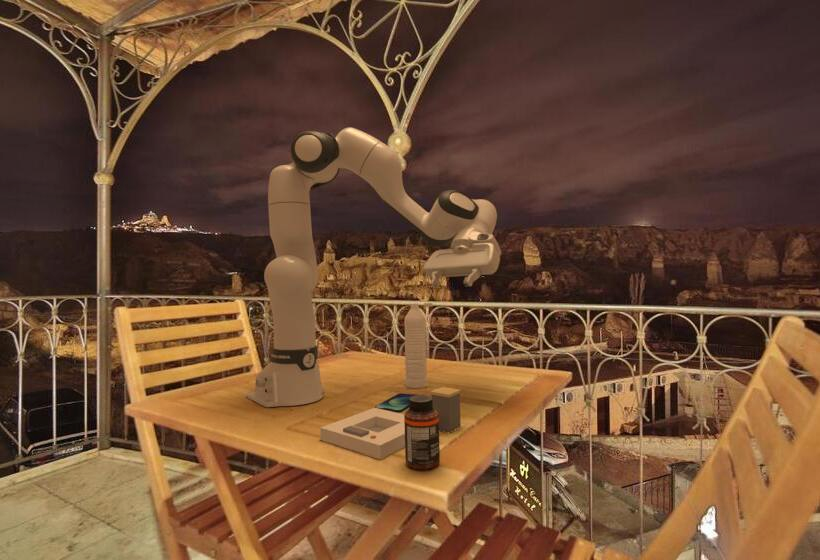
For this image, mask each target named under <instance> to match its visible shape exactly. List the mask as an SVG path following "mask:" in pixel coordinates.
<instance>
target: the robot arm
mask: <svg viewBox="0 0 820 560" xmlns="http://www.w3.org/2000/svg"><path fill="white" fill-rule="evenodd" d="M289 150H290V152H289V153H290V157H291V160H292V162H291V163H289V164H283V165H279V166H276V167H275V168H273V169H272V171H271V172H270V175H269V180H268V190H267V191H268V193H267V200H268V201H267V204H268V221H269V223H268V224H269V235H270V239H271V240H272V243H273V248H274V251H275V252H274V253H275V256H276V258H274V259H272V260H271V261H270V262H269V263H268V264H267V265H266V266H265V267H266V268H265V269H264V274H263V278H264V279H263V280H264V283H265V285H266V286H267V290H268V296H269V297H268V298H269V303H270V308H271V312H272V320H273V322H272V323H273V348H272V349H269V350H268V355H270V358H269V363H268V364H267V365H266V366H264V367H263V369H261V371H259V372H258V373H257V374H256V376H255V384H254V386H255V387H254V388H255V389H253V390H251V391H249V392H247V393H246V395H245V396H246V397H245V398H248V399H249V400H251V401H253V402H255V403H257V404H258V405H261V406H262V407H265V408H273V407H274V408H275V407H291V406H292V407H293V406H302V405H306V404H312V403H315V402H318V401H320V400H321V399H322V398H323V397H324V395H323V394H324V393H325V388H324V387H322V379H321V372H320V371H321V370H320V365H319V363H318V362H317V359H319V355H318V354H319V350H318V346H317V345H316V344H317V341H316V330H317V329H316V316H315V312H314V308H313V307H314V305H313V299H312V292H313V291H314V290H315V288H316V287H317V285H318V283H319V278H320V277H319V269H318V262H317V256H316V250H315V243H314V239H313V232H312V231H313V228H312V217H311V216H312V214H311V199H310V193H311V192H310V190H311V189H312V190H313V189H317V188H319V187H322V186H325V185H329V184H330V183H332V182H334V181H335V180H336V179H337V177H338V176H339V173H340V170H341V169H346V170H348V171H351V172H353V173H354V174H356V175H357V176H358V177H360V178H362V179H363V180H364V181H365V182H367V183H368V184H369V185H370V186H371V187H372V188H373V189H374V190H375V191H376V193H377V194H378V196H379V198H380V199H381V201H382V202H383V203H384V204H385V205H386V206H388V207H389V208H390V209H391V210H392V211H394V213H396V214H397V215H398V216H400V218H402V219H403V220H404V221H406V222H407V223H408V224H409V225H410V226H412V227H413V228H414V229H415V230H416V231H417V232H418V233H419V234H420V236H421V237H422V239H423V240H425V241H426V242H427V243H428V244H430V245H431V246H436V247H446V246H449V245H450V248H449V247H448V248H442V249H438V250H436V251H434V252H433V253H432V254H431V255H430V256H429V258H428V259H427V260H426V262H425V264H424V265H423V270H424V272H425V274H426V275H427V277H428V278H430V279H431V278H432V281H431V283H430V285H431V287H433V288H435V289H436V288H439V287H440V286H441V283H442V282H441V281H440V279H441V278H447V277H464V276H465V277H464V279H463V285H464V287H472V286H473V284H474V282H475V281H477V280H478V279H479V278H480V277H481V276H482V275H483V276H484V275H493V274H494V273H496V272H497V270H498V268H499V265H500V263H501V262H500V261H501V255H502V249H501V248H500V245H499V243H498V241H497V239H496V238H495V236H494V234H493V232H494V229H495V227H496V225H497V220H498V219H497V218H498V214H497V209H496V207H495V205H494V204H493V203H492V202H490V201H489V200H487V199H482V198H481V199H480V198H479V199H474V198H471V197H469V196H468V195H467V194H465V193H463V192H461V191H459V190H455V189H448V190H444V191H442V192H441V193H439V195H438V197H437V198H436V200H435V202H434V203H433V206H432V208H431V210H430V211H429V212H428V211H427V210H426V209H424V208H423V207H422V206H421V205H419V204H418V203H417V202H416V201H414V200H413V199H412V198H411V197H410V196H409V195H408V194H407V193H406V189H404V188H405V187H404V184H403V168H402V162H401V158H400V157H399V155H398V154H397V152H396V151H395V150H394V149H392V148H391V147H390V146H388V145H387V144H386V143H384V142H383V141H381V140H379V139H377V138H376V137H374V136H372V135H370V134H368V133H366V132H364V131H362V130H360V129H357V128H355V127H345V128H343V129H342V130H340V131H339V132H338V134H336V136H335V135H333V134H332V133H330V132H320V131H315V130H306V131H305V130H304V131H301V132H299V133H298V134H296V136H294V137H293V140H292V141H291V144H290V148H289Z"/></svg>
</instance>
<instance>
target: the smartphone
mask: <svg viewBox="0 0 820 560" xmlns="http://www.w3.org/2000/svg"><path fill="white" fill-rule="evenodd" d="M416 395H417V394H413V393H403V392H400V393H397V394H395V395H393V396H392V397H390V398H388V399H386V400H384V401H382V402H381V403H379V404H377V405H375V406H374V408H378V409H383V410H387V411H391V412H396V413H400V414H402V413H404V411H405V412H406V411H407V410H408V409H409V408H410V406H409V399H410V397H412V396H416Z"/></svg>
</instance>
